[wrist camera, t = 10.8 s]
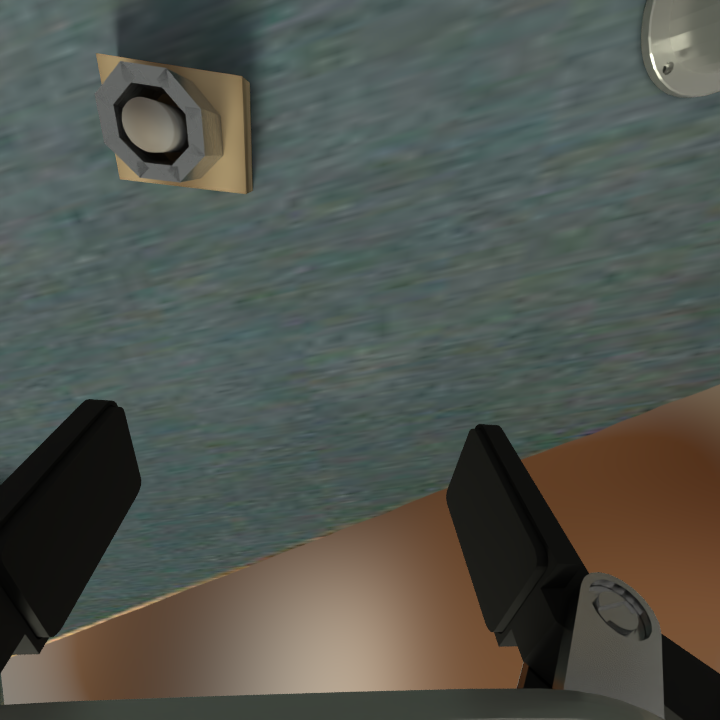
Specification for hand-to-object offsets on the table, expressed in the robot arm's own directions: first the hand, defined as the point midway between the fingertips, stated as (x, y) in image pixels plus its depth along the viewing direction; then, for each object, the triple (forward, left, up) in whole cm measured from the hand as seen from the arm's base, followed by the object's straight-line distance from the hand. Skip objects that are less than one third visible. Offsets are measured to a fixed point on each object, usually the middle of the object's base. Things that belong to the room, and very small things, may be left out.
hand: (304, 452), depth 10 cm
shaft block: (+12, -7, -30) cm, 33 cm away
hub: (+12, -7, -27) cm, 30 cm away
